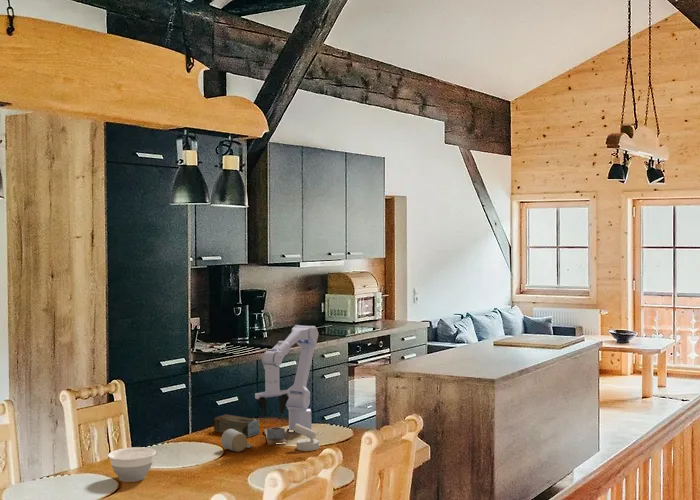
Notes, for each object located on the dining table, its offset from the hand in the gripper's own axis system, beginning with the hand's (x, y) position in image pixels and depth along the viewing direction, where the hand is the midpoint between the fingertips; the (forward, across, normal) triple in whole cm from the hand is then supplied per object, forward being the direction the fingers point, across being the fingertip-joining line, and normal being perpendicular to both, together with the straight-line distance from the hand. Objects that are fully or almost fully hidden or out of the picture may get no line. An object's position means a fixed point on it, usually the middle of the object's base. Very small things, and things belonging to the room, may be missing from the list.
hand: (272, 414), depth 337 cm
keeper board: (+10, -2, -2) cm, 10 cm away
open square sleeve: (+9, +1, +4) cm, 10 cm away
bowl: (+10, +63, +23) cm, 68 cm away
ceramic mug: (+10, +18, +7) cm, 22 cm away
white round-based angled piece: (+10, -5, +19) cm, 22 cm away
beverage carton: (+10, +8, -19) cm, 23 cm away
